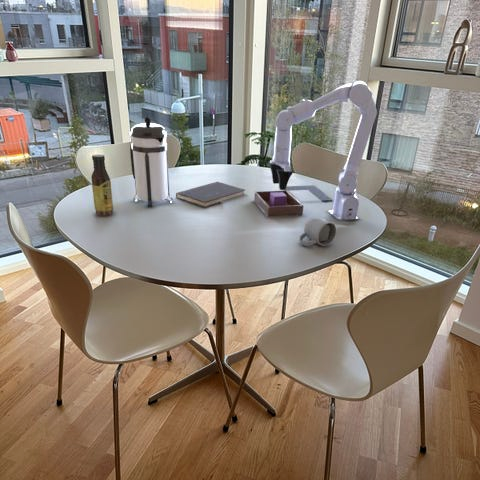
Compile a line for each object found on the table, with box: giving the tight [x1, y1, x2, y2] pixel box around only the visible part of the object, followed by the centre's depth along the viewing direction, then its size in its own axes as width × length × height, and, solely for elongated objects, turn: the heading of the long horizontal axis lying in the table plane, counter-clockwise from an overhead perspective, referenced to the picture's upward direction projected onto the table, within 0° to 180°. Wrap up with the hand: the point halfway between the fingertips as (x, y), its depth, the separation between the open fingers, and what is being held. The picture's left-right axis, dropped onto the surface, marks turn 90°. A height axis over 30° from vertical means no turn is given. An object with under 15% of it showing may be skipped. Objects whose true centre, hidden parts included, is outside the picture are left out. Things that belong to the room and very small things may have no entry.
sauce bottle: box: [91, 154, 114, 217], centre depth 158 cm, size 7×6×20 cm
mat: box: [284, 185, 333, 203], centre depth 191 cm, size 20×14×1 cm
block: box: [269, 192, 287, 207], centre depth 172 cm, size 5×5×5 cm
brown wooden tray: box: [254, 190, 304, 218], centre depth 173 cm, size 18×13×4 cm
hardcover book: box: [175, 181, 246, 209], centre depth 183 cm, size 16×23×2 cm
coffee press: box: [129, 116, 174, 208], centre depth 169 cm, size 17×16×30 cm
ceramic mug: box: [299, 216, 337, 247], centre depth 146 cm, size 11×8×8 cm
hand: (279, 186), depth 169 cm, fingers open, 7 cm apart
